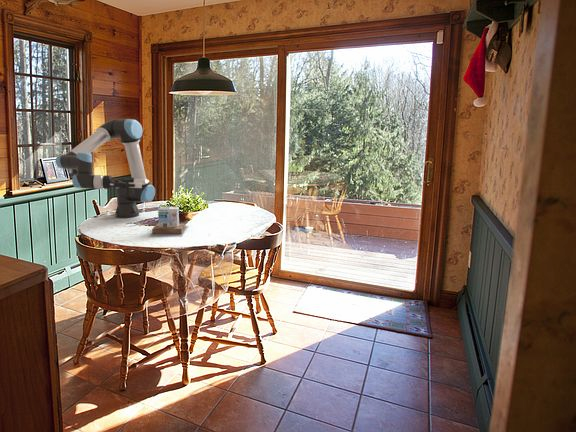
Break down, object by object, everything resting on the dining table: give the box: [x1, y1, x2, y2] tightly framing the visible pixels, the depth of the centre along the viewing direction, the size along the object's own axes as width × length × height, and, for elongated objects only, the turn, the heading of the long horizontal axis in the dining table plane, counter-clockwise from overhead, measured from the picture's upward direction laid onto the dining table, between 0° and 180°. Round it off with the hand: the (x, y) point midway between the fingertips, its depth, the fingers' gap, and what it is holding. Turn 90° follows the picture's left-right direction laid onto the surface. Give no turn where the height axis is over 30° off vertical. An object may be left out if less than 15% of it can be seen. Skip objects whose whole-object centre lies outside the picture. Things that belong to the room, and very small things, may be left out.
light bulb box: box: [157, 206, 180, 227], centre depth 234 cm, size 11×7×11 cm, turn 98°
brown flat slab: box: [148, 225, 189, 238], centre depth 236 cm, size 24×18×1 cm
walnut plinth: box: [151, 222, 187, 234], centre depth 235 cm, size 14×16×3 cm
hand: (143, 183), depth 231 cm, fingers open, 13 cm apart
